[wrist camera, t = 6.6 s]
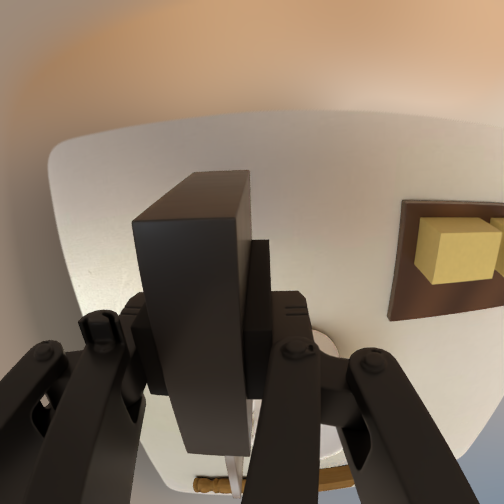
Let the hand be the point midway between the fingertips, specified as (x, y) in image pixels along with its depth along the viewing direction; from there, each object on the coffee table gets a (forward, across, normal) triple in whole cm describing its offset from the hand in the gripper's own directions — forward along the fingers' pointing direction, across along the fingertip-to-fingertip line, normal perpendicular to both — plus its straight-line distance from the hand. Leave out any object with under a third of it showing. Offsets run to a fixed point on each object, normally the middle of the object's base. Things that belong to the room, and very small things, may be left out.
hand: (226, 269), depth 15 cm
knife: (0, 0, -5) cm, 5 cm away
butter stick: (+12, +19, -3) cm, 23 cm away
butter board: (+13, +23, -6) cm, 27 cm away
